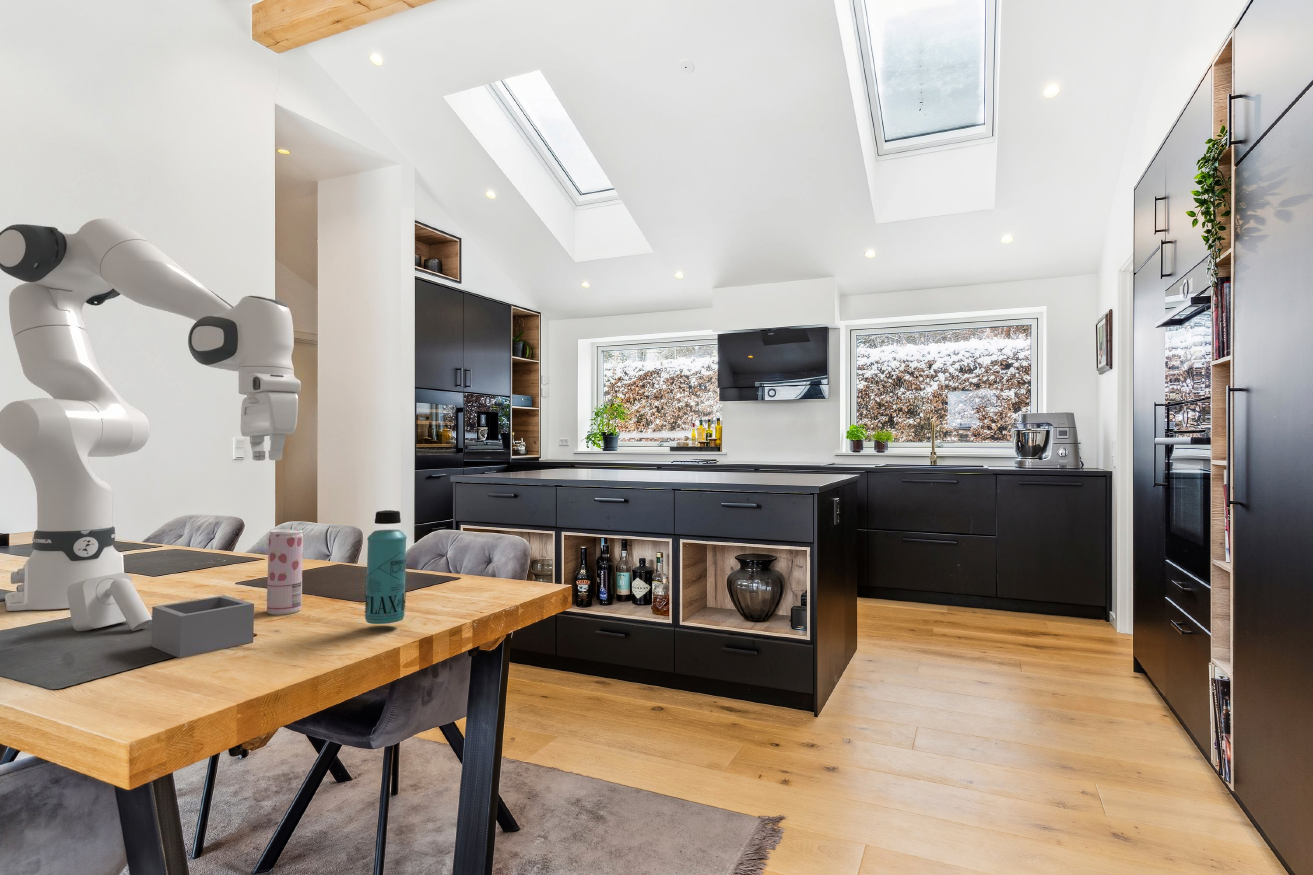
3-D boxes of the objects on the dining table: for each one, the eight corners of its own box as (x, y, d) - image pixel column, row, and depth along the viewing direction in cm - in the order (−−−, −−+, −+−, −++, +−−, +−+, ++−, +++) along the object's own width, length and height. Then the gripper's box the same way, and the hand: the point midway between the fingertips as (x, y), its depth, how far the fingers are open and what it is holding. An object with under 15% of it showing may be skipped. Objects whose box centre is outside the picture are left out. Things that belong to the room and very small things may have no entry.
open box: (151, 646, 102) (152, 606, 102) (223, 631, 110) (224, 595, 110) (179, 658, 96) (181, 616, 96) (253, 642, 104) (254, 603, 105)
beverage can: (268, 609, 126) (270, 529, 126) (303, 606, 128) (304, 528, 128) (264, 616, 120) (266, 532, 121) (300, 613, 123) (302, 531, 123)
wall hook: (126, 633, 106) (115, 571, 107) (74, 644, 108) (65, 583, 109) (172, 621, 114) (162, 563, 115) (123, 631, 116) (114, 574, 117)
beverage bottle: (355, 632, 111) (358, 511, 111) (377, 622, 117) (380, 508, 118) (392, 634, 110) (395, 512, 110) (412, 624, 116) (415, 509, 117)
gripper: (231, 388, 128) (231, 461, 127) (264, 379, 113) (265, 460, 113) (267, 390, 132) (268, 460, 132) (304, 381, 118) (305, 459, 118)
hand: (266, 460), depth 122 cm, fingers open, 8 cm apart
